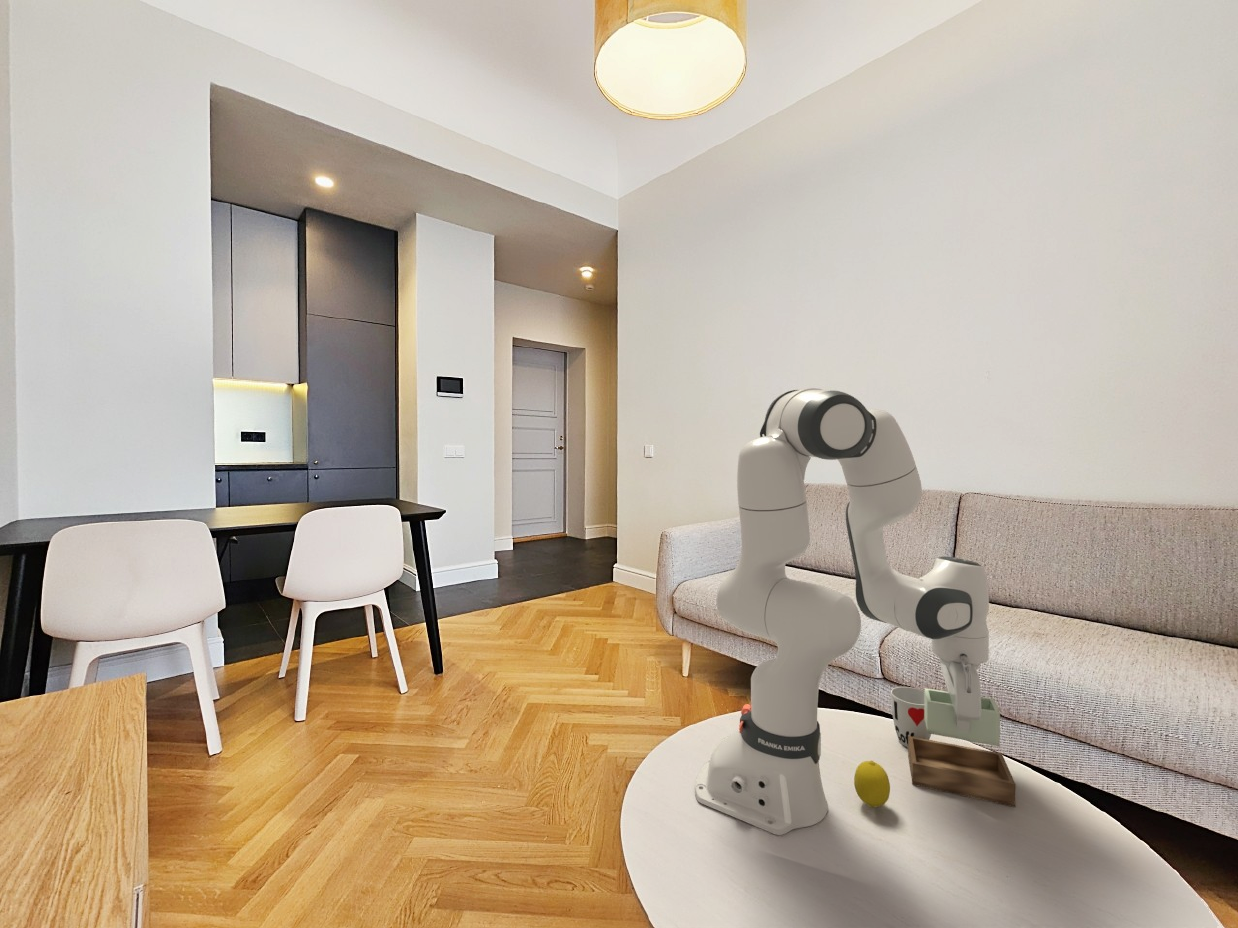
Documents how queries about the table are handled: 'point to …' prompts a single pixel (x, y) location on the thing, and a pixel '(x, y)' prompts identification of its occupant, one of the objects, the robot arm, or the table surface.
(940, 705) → the sage crate
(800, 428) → the robot arm
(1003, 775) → the walnut crate
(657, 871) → the table surface
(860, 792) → the lemon
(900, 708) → the cup
